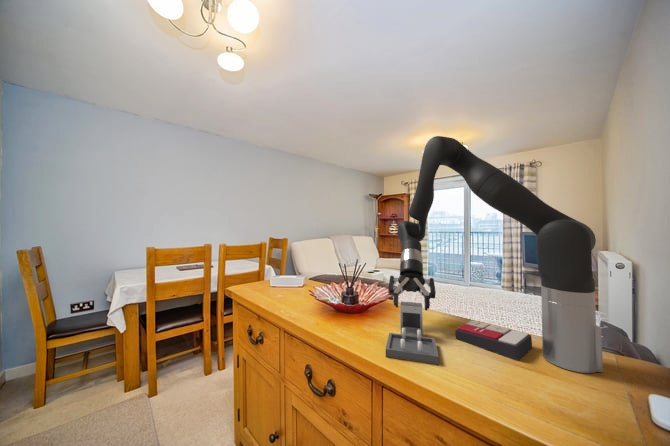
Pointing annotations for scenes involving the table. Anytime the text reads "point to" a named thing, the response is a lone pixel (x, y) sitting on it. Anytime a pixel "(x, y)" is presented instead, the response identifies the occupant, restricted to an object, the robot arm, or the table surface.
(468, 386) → the table surface
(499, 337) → the red and grey box
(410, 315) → the drive
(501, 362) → the table surface
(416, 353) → the tray
